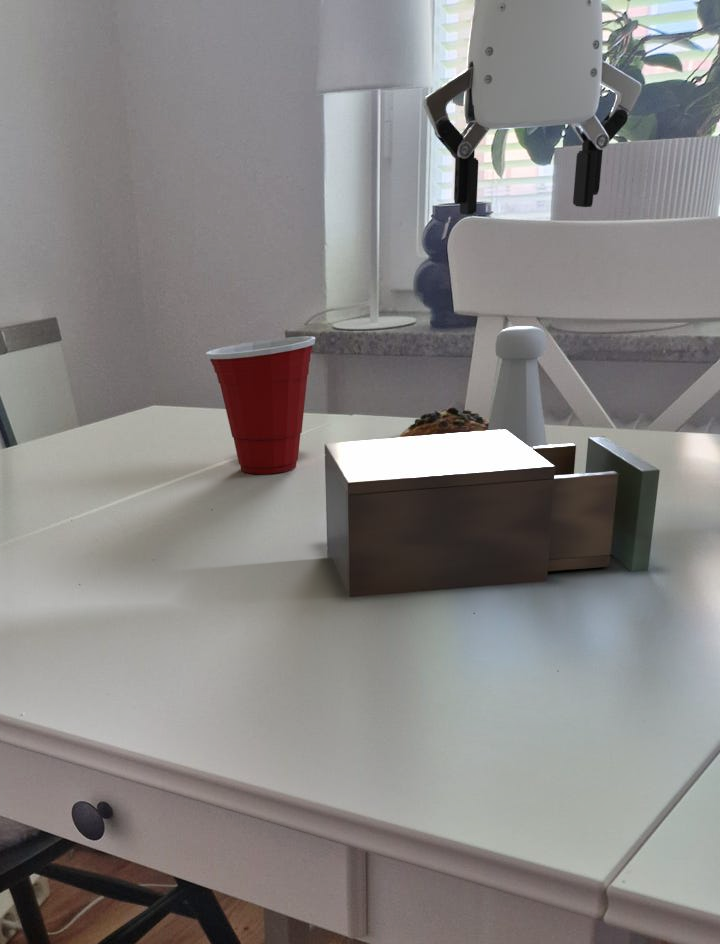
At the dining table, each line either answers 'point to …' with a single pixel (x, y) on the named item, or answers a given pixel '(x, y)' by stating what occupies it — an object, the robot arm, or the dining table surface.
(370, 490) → the cabinet
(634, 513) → the drawer
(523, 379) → the salt shaker
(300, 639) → the dining table surface
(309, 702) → the dining table surface
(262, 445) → the plastic cup
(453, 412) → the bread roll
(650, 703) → the dining table surface
